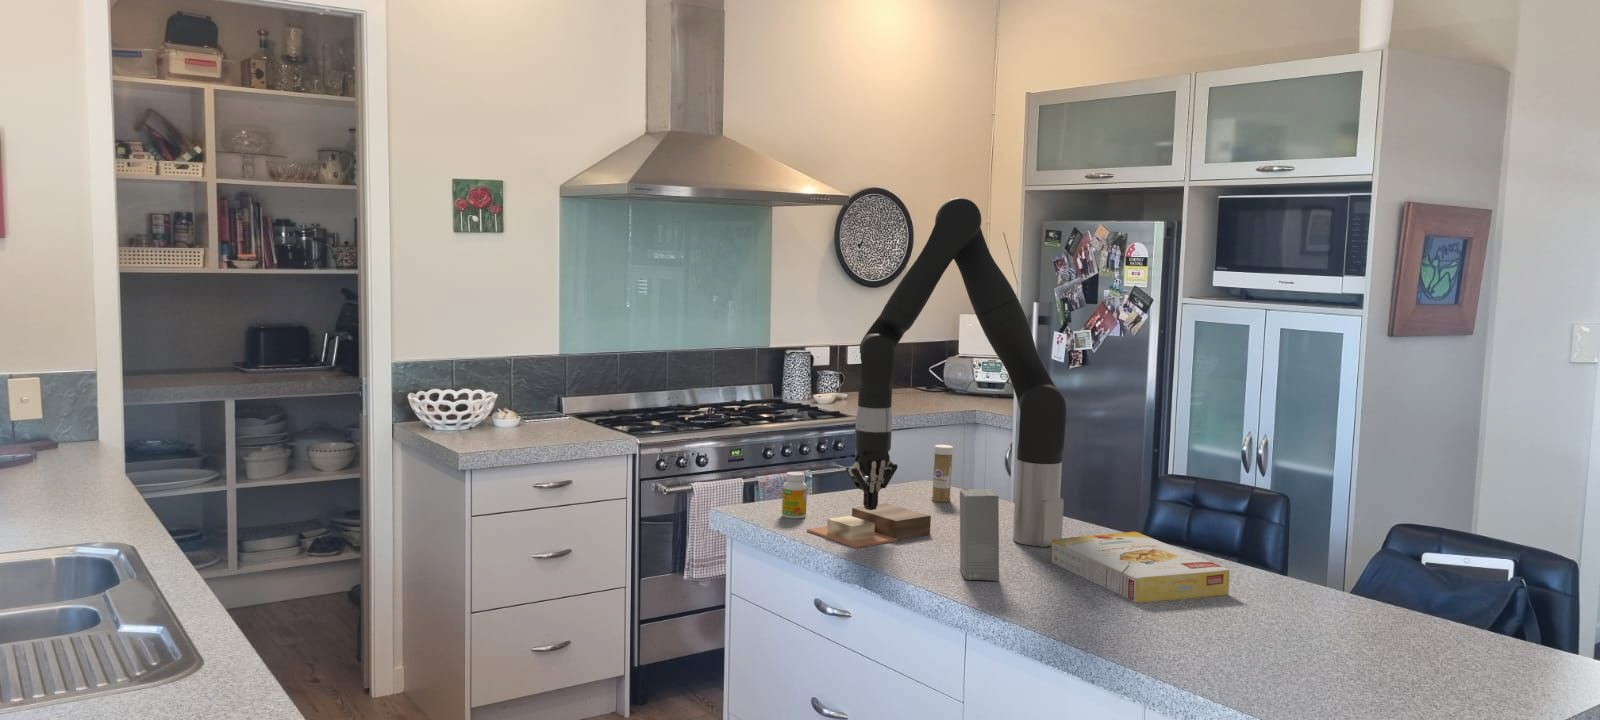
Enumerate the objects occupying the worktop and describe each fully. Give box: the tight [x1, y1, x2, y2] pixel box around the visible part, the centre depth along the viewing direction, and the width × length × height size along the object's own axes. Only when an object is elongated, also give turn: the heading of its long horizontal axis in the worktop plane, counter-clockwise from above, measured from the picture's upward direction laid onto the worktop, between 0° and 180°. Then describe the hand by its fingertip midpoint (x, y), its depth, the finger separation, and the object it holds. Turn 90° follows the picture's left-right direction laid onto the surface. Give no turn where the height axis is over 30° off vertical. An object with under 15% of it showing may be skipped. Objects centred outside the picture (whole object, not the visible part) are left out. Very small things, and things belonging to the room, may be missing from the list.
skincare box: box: [959, 488, 1000, 582], centre depth 219 cm, size 8×7×16 cm
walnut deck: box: [851, 502, 932, 540], centre depth 253 cm, size 14×10×4 cm
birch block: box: [827, 515, 875, 541], centre depth 245 cm, size 8×6×3 cm
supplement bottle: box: [781, 471, 808, 520], centre depth 263 cm, size 5×5×10 cm
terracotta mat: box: [806, 525, 897, 549], centre depth 246 cm, size 16×11×1 cm
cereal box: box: [1050, 531, 1230, 603], centre depth 221 cm, size 20×6×28 cm
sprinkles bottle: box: [931, 444, 954, 503], centre depth 285 cm, size 5×5×14 cm
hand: (870, 509), depth 249 cm, fingers closed
